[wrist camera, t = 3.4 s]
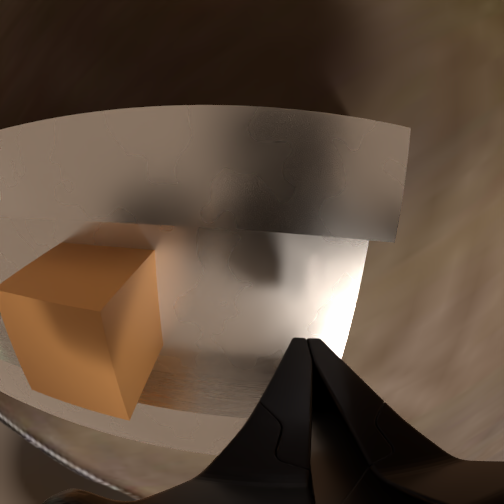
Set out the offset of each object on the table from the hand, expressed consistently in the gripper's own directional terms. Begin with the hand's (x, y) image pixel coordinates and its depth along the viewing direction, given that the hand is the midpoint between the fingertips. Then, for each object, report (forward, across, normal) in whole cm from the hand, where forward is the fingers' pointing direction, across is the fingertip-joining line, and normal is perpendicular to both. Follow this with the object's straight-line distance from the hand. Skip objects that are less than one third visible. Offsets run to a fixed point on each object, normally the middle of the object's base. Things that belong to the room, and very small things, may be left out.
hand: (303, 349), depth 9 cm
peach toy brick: (+2, +7, 0) cm, 7 cm away
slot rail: (+5, +7, 0) cm, 9 cm away
